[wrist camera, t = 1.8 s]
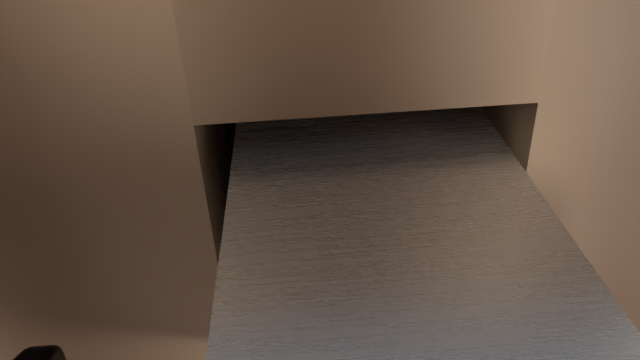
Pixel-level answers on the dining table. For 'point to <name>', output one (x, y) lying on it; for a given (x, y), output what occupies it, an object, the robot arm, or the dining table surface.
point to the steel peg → (400, 248)
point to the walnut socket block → (263, 105)
